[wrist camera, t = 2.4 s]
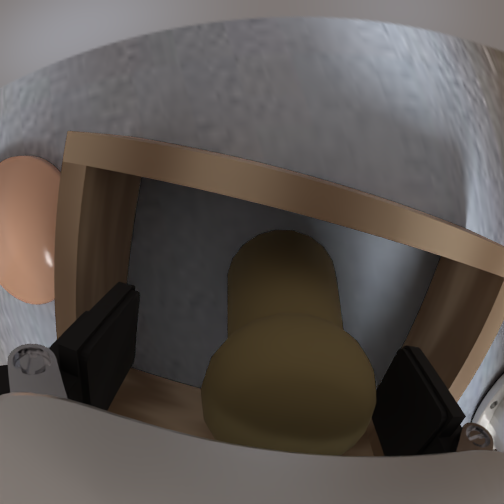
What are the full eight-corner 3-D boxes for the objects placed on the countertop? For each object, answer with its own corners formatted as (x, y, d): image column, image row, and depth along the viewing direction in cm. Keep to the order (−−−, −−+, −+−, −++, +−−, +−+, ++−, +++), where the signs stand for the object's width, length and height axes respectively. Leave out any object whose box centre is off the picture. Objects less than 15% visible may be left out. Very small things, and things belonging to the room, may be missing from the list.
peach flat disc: (93, 166, 16) (84, 166, 16) (82, 317, 19) (74, 323, 18) (-10, 149, 16) (-19, 150, 15) (-12, 276, 19) (-20, 280, 18)
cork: (236, 220, 17) (180, 321, 6) (347, 241, 17) (442, 358, 6) (220, 321, 19) (173, 477, 8) (320, 338, 19) (355, 495, 8)
